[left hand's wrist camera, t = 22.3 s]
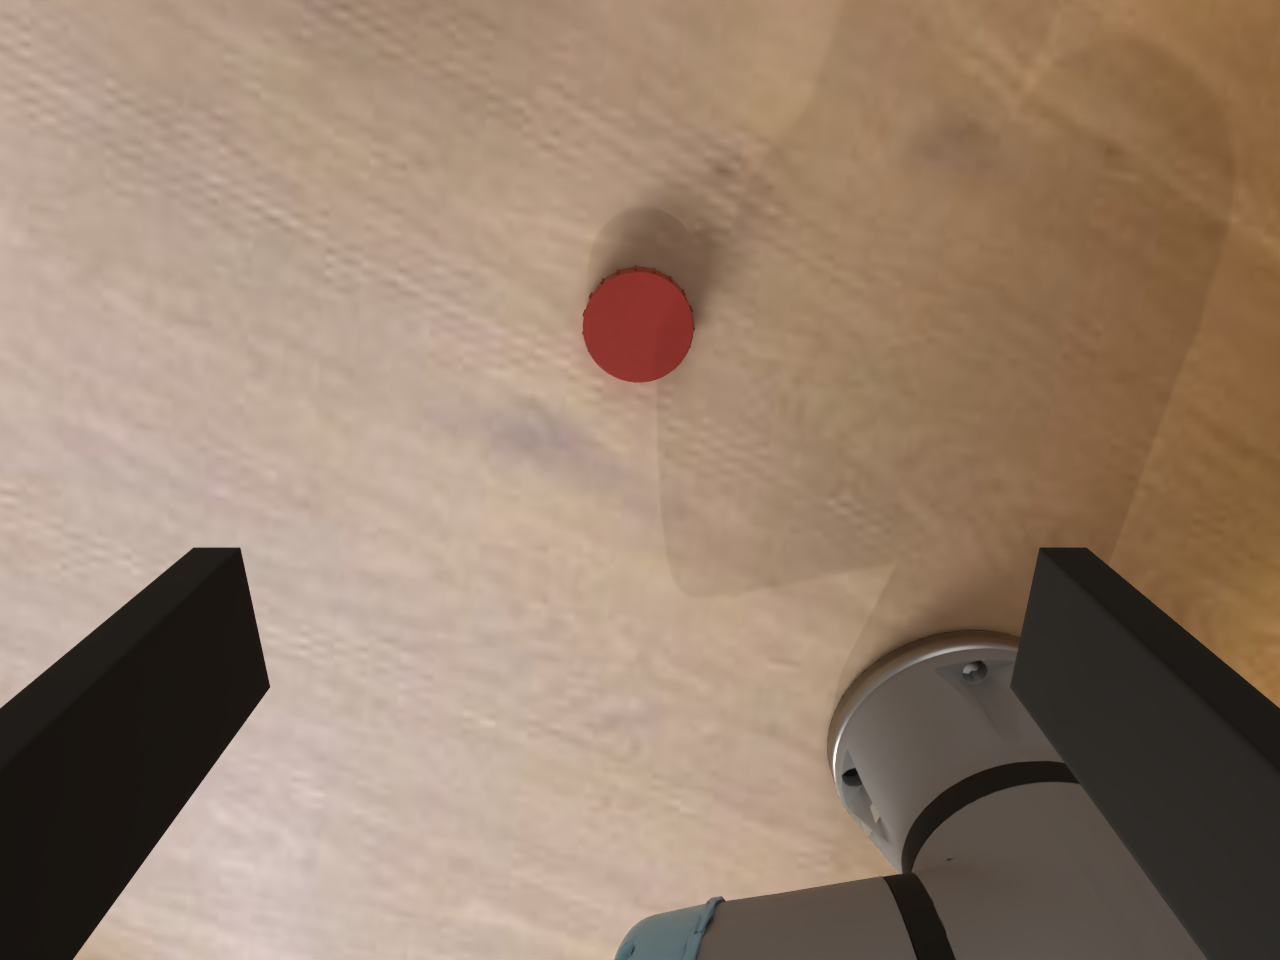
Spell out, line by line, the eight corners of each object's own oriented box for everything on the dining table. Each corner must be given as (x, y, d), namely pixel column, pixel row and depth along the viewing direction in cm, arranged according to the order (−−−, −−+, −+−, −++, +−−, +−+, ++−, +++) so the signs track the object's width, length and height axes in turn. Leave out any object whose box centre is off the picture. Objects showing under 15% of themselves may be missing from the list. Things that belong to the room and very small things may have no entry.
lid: (701, 363, 38) (704, 372, 37) (597, 384, 39) (595, 394, 37) (681, 255, 36) (683, 259, 35) (572, 278, 37) (569, 283, 35)
